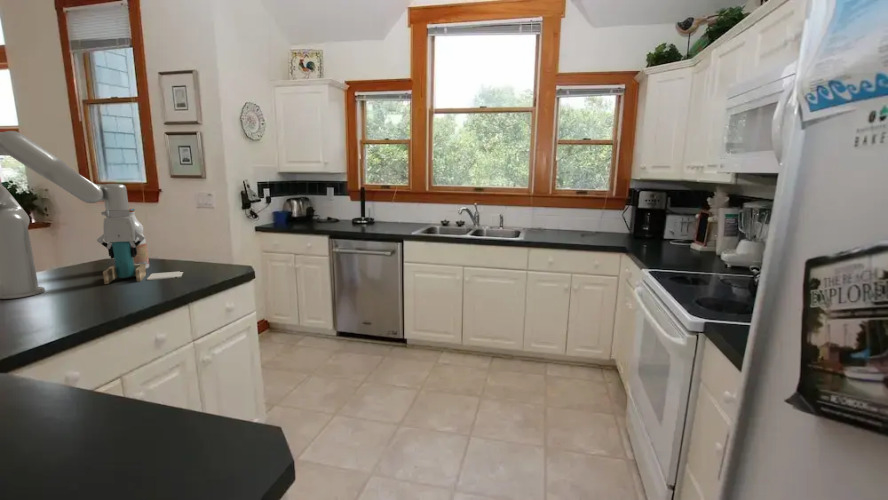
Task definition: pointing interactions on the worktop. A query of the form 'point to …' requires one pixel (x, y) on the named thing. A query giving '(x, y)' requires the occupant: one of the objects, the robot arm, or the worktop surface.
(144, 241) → the fruit juice
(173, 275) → the trivet
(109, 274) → the bottle bracket
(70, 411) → the worktop surface
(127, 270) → the beverage bottle
